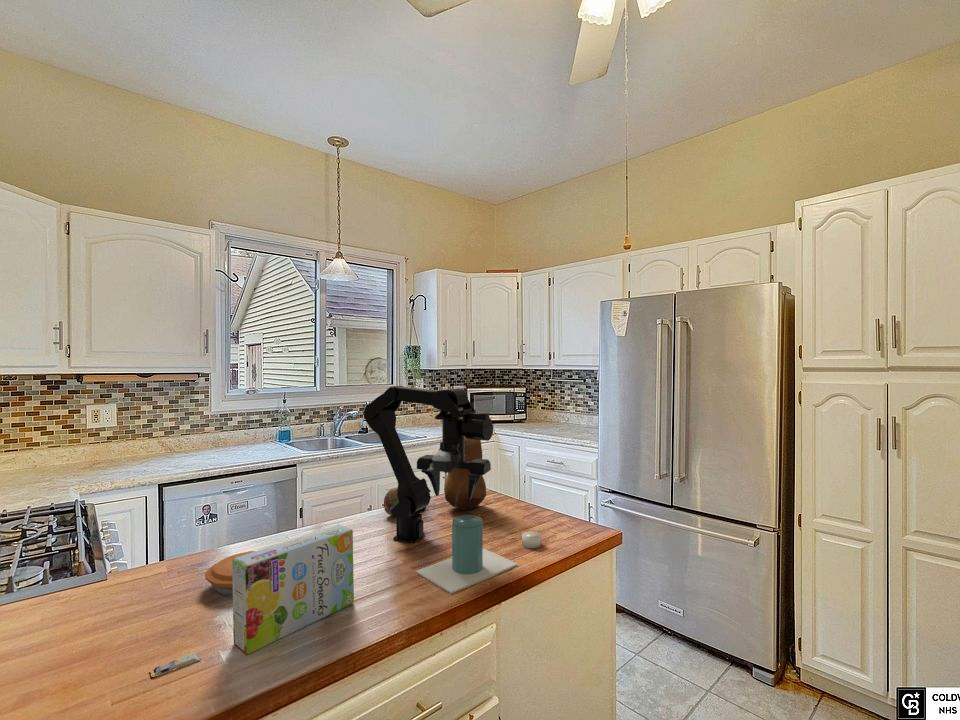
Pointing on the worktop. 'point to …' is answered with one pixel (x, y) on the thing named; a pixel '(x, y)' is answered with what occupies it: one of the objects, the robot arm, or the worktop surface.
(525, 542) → the cream bowl
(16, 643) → the worktop surface
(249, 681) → the worktop surface
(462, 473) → the butternut squash
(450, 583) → the grey mat
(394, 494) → the tin
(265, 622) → the snack box
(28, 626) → the worktop surface
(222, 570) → the pie
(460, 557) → the teal cover
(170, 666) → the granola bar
